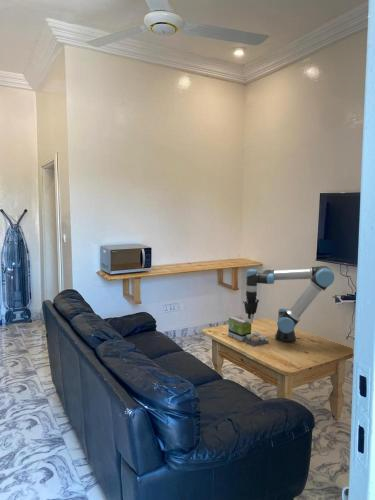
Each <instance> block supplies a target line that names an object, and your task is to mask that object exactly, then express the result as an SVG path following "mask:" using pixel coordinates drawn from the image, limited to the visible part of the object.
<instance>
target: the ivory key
mask: <svg viewBox="0 0 375 500" xmlns="http://www.w3.org/2000/svg"><path fill="white" fill-rule="evenodd" d="M257 337H258V338H260V340H259V341H260V342H263V341H265V340H267V337H266V336H265V335H262V334H261V335H259V336H257Z"/></svg>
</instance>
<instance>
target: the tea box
mask: <svg viewBox="0 0 375 500" xmlns="http://www.w3.org/2000/svg"><path fill="white" fill-rule="evenodd" d="M248 320H249V319H248V318H245V317H244V316H239V315H235V316H230V317H228V328H227V329H228V337H231V338H234V339H235V340H237V341H240V342H243V339H245V338H246V335H249V334H252V323H248Z"/></svg>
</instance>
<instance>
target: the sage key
mask: <svg viewBox="0 0 375 500" xmlns="http://www.w3.org/2000/svg"><path fill="white" fill-rule="evenodd" d="M252 334H253V333H251V334H249V335H246V339H247V340H249V341H251V337H255V336H254V335H252Z"/></svg>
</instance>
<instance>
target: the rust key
mask: <svg viewBox="0 0 375 500" xmlns="http://www.w3.org/2000/svg"><path fill="white" fill-rule="evenodd" d="M259 340H260V338H258V337H256V336H255V337H251V342H253V343H258V342H259Z"/></svg>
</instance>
